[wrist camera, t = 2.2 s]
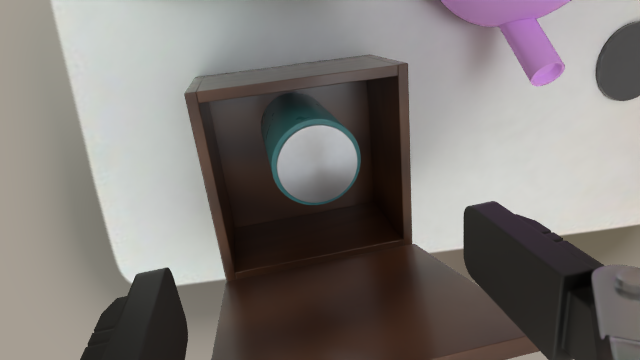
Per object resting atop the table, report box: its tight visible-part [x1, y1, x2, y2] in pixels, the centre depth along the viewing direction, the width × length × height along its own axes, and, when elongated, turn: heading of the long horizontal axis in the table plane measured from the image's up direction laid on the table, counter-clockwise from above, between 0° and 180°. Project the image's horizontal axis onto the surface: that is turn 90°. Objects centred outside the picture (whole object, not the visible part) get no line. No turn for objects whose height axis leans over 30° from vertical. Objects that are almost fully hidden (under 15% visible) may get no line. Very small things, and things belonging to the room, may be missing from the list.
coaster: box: [596, 21, 640, 101], centre depth 38 cm, size 7×7×1 cm
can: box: [261, 92, 361, 205], centre depth 29 cm, size 5×5×10 cm
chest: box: [184, 55, 412, 281], centre depth 31 cm, size 13×14×8 cm
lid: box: [211, 244, 540, 360], centre depth 23 cm, size 14×14×5 cm
